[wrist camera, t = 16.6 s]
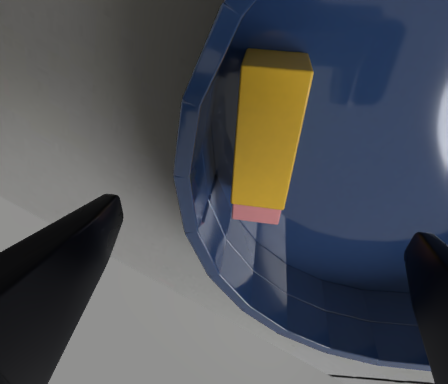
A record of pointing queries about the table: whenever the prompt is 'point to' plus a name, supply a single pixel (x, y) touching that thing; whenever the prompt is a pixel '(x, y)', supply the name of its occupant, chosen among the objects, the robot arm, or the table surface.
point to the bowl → (326, 171)
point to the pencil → (268, 131)
